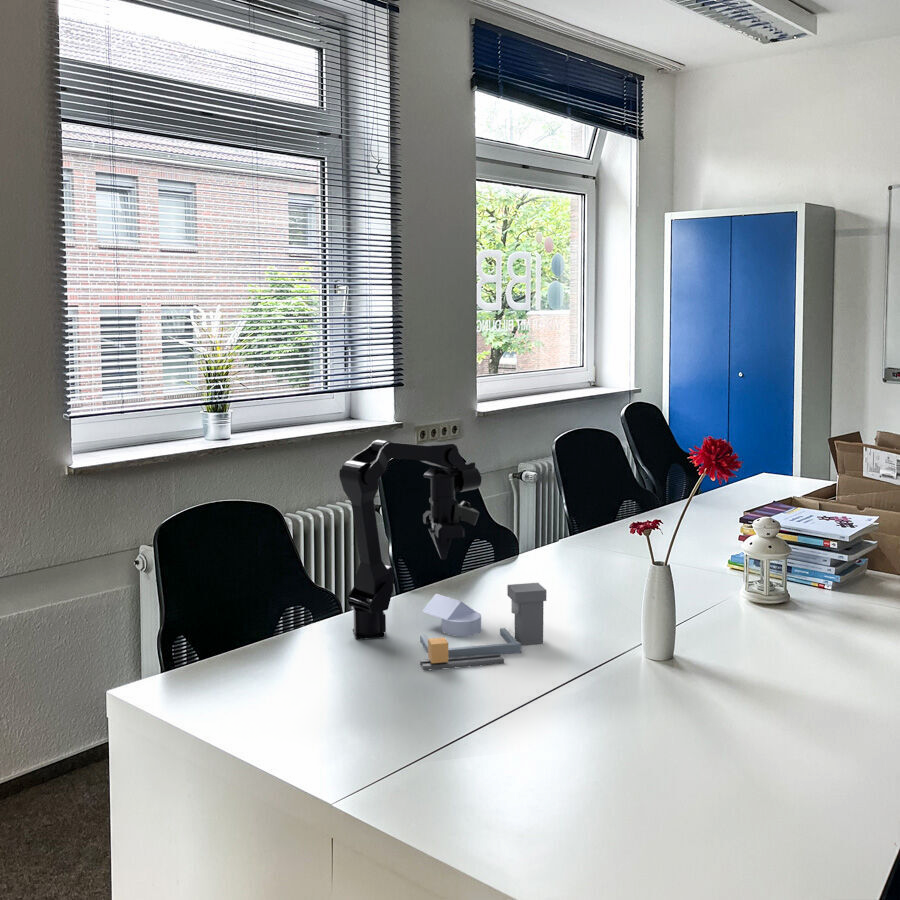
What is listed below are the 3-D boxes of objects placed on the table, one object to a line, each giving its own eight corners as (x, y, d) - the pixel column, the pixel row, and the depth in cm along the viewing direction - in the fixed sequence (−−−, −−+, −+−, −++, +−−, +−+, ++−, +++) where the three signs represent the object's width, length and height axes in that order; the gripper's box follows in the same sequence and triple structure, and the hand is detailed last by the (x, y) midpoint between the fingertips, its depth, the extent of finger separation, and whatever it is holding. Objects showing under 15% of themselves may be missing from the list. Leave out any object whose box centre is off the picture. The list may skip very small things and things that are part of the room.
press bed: (431, 660, 207) (430, 604, 205) (420, 641, 219) (419, 587, 217) (551, 650, 213) (552, 595, 211) (534, 632, 224) (534, 579, 223)
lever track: (423, 670, 201) (423, 666, 201) (419, 664, 205) (419, 660, 205) (504, 663, 205) (504, 658, 205) (499, 657, 209) (499, 652, 208)
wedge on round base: (421, 625, 230) (460, 639, 220) (421, 597, 229) (460, 609, 219) (450, 617, 236) (489, 629, 226) (450, 589, 235) (489, 601, 225)
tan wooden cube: (431, 668, 202) (431, 644, 201) (428, 662, 205) (427, 638, 204) (448, 666, 203) (448, 643, 202) (444, 660, 206) (444, 637, 205)
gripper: (486, 500, 228) (486, 567, 230) (466, 486, 246) (466, 547, 248) (438, 503, 226) (439, 570, 228) (422, 488, 244) (423, 550, 246)
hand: (443, 559), depth 238 cm, fingers closed
